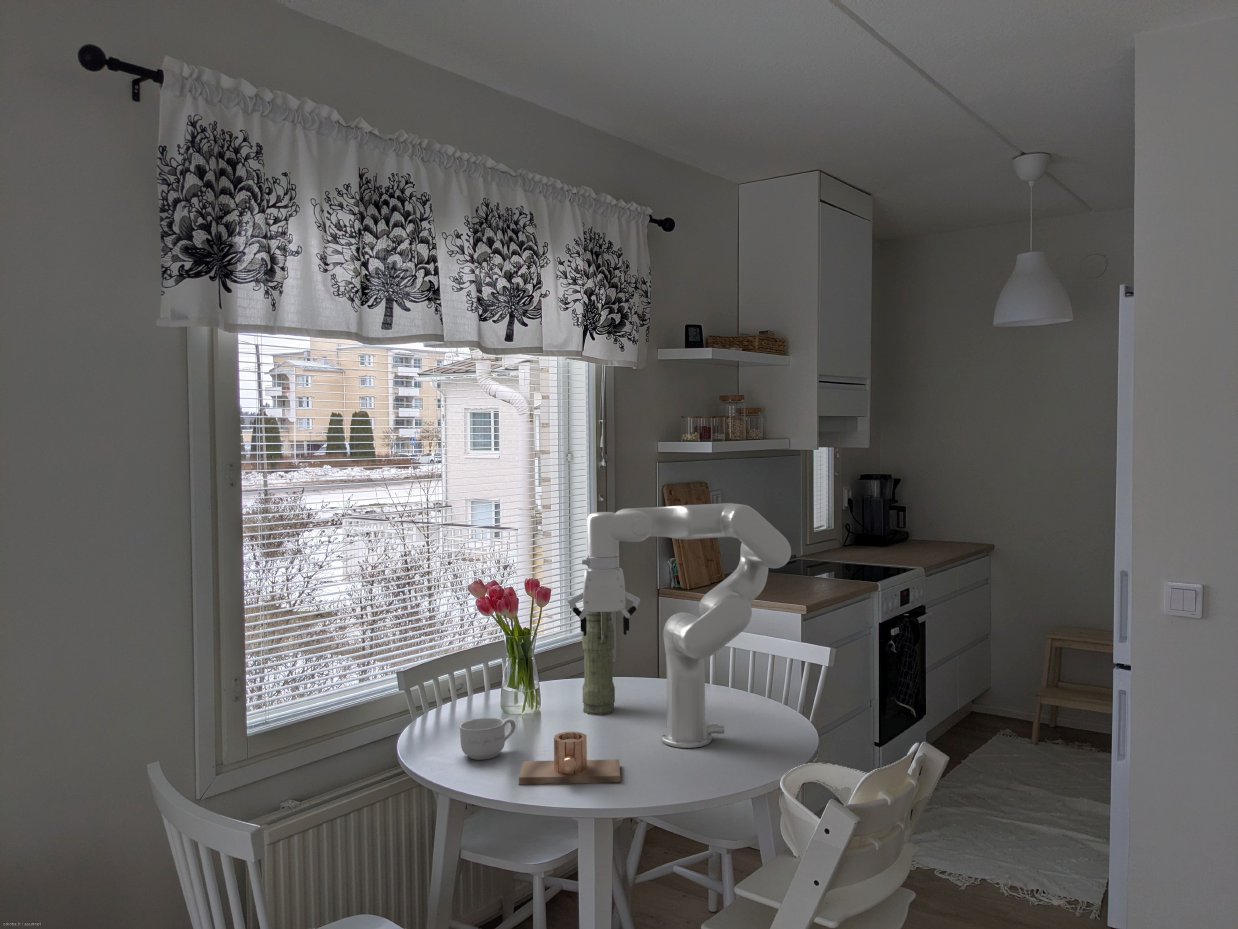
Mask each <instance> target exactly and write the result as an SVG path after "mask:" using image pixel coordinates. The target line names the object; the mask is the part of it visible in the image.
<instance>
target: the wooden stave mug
mask: <svg viewBox="0 0 1238 929" xmlns="http://www.w3.org/2000/svg"><path fill="white" fill-rule="evenodd" d="M565 739H576V740H574V741H565ZM587 742H588V741H587V734H585V732H579V731H565V732H563V731H562V732H560V733H557V734H555V735H554V737H553V761H554V770H555V771H557V772H559V773H562V774H577V773H581V772H583V771H585V770H586V769H587V760H588V759H587V758H588V751H587V750H588V749H587V747H588V745H587Z"/></svg>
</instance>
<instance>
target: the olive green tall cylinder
mask: <svg viewBox="0 0 1238 929" xmlns="http://www.w3.org/2000/svg"><path fill="white" fill-rule="evenodd" d="M611 614H612V612H588V614H587V615H586V616H585V617H586V624H587V635H586V636H584V632H581V635H582V636H581V638H582V640H581V641H582V642H581V643H582V644H581V646H582V650H583V656H584V657H583V658H584V660H583V661H584V662H583V665H584V666H583V668H584V674H583V675H584V678H583V679H584V682H583V686H582V703H583V710H582V711H583V713H585V714H586V713H587V715H590V714H591V716H606V715H609V714H613V713H614V712H615V702H616V696H615V695H616V692H615V688H616V687H615V684H614V678H613V674H614V673H613V672H614V671H613V666H614V664H613V650H614V648H615V629H614V624H613V622H612V621H613V620H612V615H611Z"/></svg>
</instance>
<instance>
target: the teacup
mask: <svg viewBox="0 0 1238 929" xmlns="http://www.w3.org/2000/svg"><path fill="white" fill-rule="evenodd" d="M507 724H510V729H508V731H507V733H506V732H505V728H506V726H507ZM515 730H516V722H515V720H514V719H512V718H510V717H509V718H504V719H502V718H500V717H499V718H498V717H491V716H490V717H478V718H472V719H469V720H465V721H464V722H462V723H460V724H459V733H460V734H459V736H460V746H461V751H462V752H463V754H464V755H466V756H467V757H469V758H470V759H472V760H477V761H478V760H479V761H480V760H481V761H483V760H489V759H493V758H496V757H497V756H498V755H499V753H501V751H502V750H503V749H504V748H505V745H506V744H505V743H506V742H507V740H508V739H509V738H511V736H512V735H513V734H514V733H515Z"/></svg>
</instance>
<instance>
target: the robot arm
mask: <svg viewBox="0 0 1238 929" xmlns="http://www.w3.org/2000/svg"><path fill="white" fill-rule="evenodd" d="M586 521H587V522H586V523H587V525H586V527H587V528H586V529H587V530H586V531H587V532H586V533H587V557H586V558H585V559H584V558H582V559H581V565H583V566H584V565H585V566H586V567H587V568H586V569H585V570H584V576H583V584H582V586H583V588H582V589H583V591H582V592H581V593H580V594H579V593H578V595H576V596H574V597H572V598H570V599H568V605H569V607H570V608H571V611H572V612H573V614H575V615H576V616H577V617H578V618H579V619H580V623H579V624H580V632H581V633H582V632H584V636H586V635H587V624H586V617H585V616H586V615H587V614H588V612H611V613H612V612H621V614H622V615H623V616H622V628H623V629H622V630H623V631H622V633H623V635H624V636H626V635H627V631H630V618H631V616H633V614H634V613H635V612H636V611H637V609H638V606H639V605H640V603H641V598H639V597H637V596H635V595H633V594H632V593H629V592H627V591H626V584H625V583H626V582H625V577H624V576H625V575H624V571H623V568H621V567H620V542H630V543H638V542H639V543H640V542H643V541H645V540H646V539H648V538H650V537H659V538H662V537H663V538H670V539H677V540H697V539H698V540H699V539H710V538H711V539H713V538H714V539H715V538H733V539H735V538H736V539H738V540H739V541H740V542H741V543H740V555H739V556H740V558H739V563H738V565H737V567H736V569H735V570H734V571H733V572H732V573H731V574H730V575H729V576H727V577H726V578H725V579H724V580H723V581H720V583H718V584H717V585H715V586H714V587H713V588H712V589H711V590H709V591H708V592H706V593H705V594H704V596H702V598H701V600H700V601H699V605H698V606H699V607H698V610H699V613H700V615H701V616H697V615H694V614H692V613H689V612H686V611H685V612H684V611H683V612H677V613H674V614H673V615H671V616H670V617H669V618H667V620H666V622H665V624H664V627H663V632H662V633H663V636H662V637H663V643H664V651H665V660H666V662H665V663H666V730H665V731H662V732H661V734H660V740H661V741H662V743H663V744H665V745H667V746H671V747H673V748H674V747H675V748H680V749H681V748H682V749H687V748H688V749H691V748H699V747H705V746H707V745H709V744H710V743H711V742H712V737H713V736H712V734H717V735H719V734H720V735H721V734H725V725H719V723H709V722H707V719H706V684H705V682H706V681H705V680H706V669H705V668H706V667H705V666H706V664H705V659H709V658H710V657H712V656H713V655H715V654H716V653H717V652H719V651H720V650H721V649H723V648H724V647H725V646H727V644H729V643H730V642H731V641H733V640H734V639H735V638H736V637H737V636H738V635H740V634H741V633H743V631H744V630H746V628H747V626H748V625H749V624H750V621H751V620H752V615H753V609H752V605H751V603H752V601H754V600H755V599H756V598H757V597H758V596H759V595H761V593H762V591H763V590H764V588H765V587H766V584H767V581H768V574H769V569H780V568H782V567H784V566H785V565H786V564H787V563H788V562H789V561H790V559H791V556H792V548H791V545H790V543H789V541H788V539H787V538H786V537H785V536H784V535H783V534H782V532H780V531H779V530H778V529H777V528H775V527H774V526H773V525H772V524H771V523H770V522H769V521H768V520H767V519H766V518H764V516H762V515H761V514H760V513H759V512H758V511H757V510H755V509H754V508H753V507H751V506H750V505H747V504H740V503H733V502H726V503H725V502H722V503H707V504H705V503H704V504H684V505H671V506H657V507H634V508H633V507H632V508H630V507H629V508H621V509H619V510H617V511H616V512H614V511H613V512H611V511H598V512H597V511H596V512H595V511H594V512H592V513H590V514H588V516H587V519H586ZM626 599H627V600H629V601H631V602H633V603H632V605H631V606H630V607H629V608H628V609H627V608H626V605H627V604H626V602H627V601H626ZM580 601H582V604H583V605H582V606H583V609H580V608H578V606H577V605H576V604H577V603H578V602H580Z"/></svg>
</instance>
